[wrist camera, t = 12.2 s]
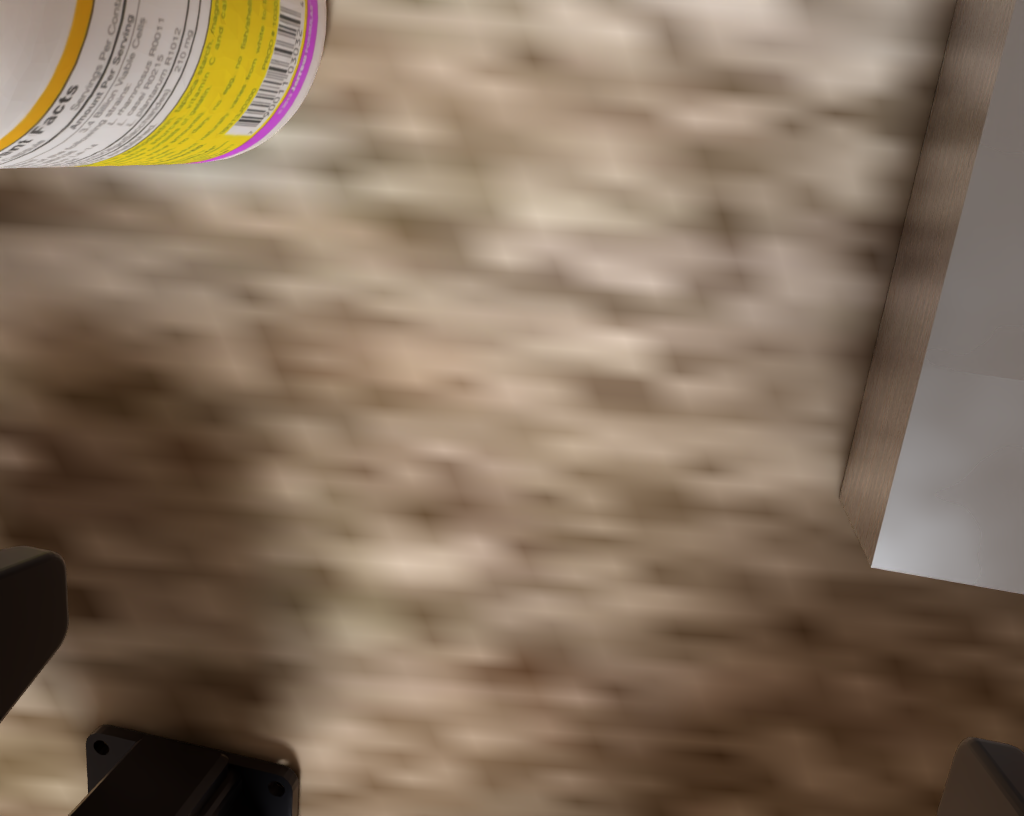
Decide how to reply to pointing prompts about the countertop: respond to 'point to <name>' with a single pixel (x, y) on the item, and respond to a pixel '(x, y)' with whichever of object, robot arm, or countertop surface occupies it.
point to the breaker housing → (954, 333)
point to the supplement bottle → (151, 78)
